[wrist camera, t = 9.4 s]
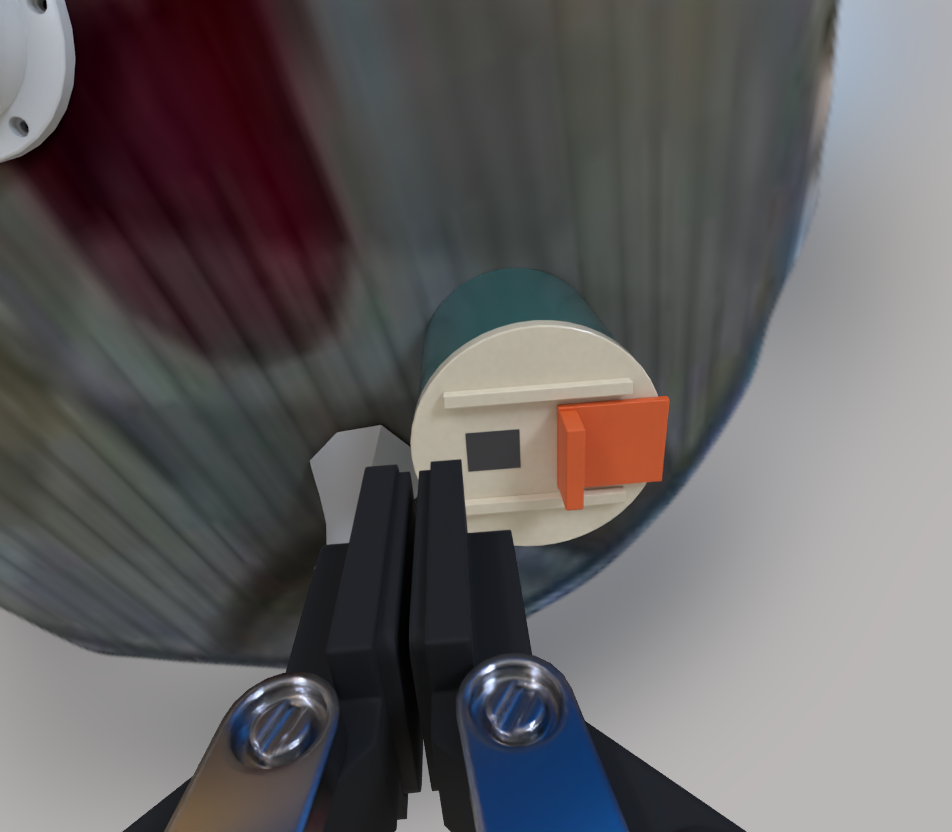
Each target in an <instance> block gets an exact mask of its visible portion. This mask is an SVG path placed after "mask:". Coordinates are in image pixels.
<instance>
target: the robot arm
mask: <svg viewBox="0 0 952 832" xmlns="http://www.w3.org/2000/svg"><path fill="white" fill-rule="evenodd" d="M46 1H47V9H46V10H45V8H44V6H43V2H44V0H0V163H1V162H5V161H8V160H11V159H14V158H18V157H21V156H23V155H24V154H26V153H28V152H29V151H31V150H33V149H34V148H36V147H38V146H39V145H41V144H42V142H43V141H44V140H45V139H46V138H47V137H48V136H49V135H50V134H51V133H52V132H53V131H54V130H55V129H56V127H57V125H58V124H59V122H60V120H61V118H62V116H63V115H64V113H65V111H66V109H67V106H68V103H69V99H70V96H71V92H72V89H73V85H74V72H75V49H74V40H73V31H72V25H71V22H70V18H69V15H68V11H67V7H66V4H65V0H46ZM26 124H27V125H28V129H29V130H28V129H27V128H26ZM423 740H424V746H425V751H426V758H427V764H428V770H429V776H430V782H431V788H432V791H437V790H438V791H439V794H440V801H441V807H442V814H443V820H444V825H445V826H446V827H447V828H448V829H449V830H450V831H451V832H746V831H745V830H743V829H742V828H740V827H739V826H737V825H736V824H735V823H733V822H732V821H730V820H729V819H727V818H726V817H724V816H723V815H721V814H720V813H718V812H717V811H715V810H714V809H712V808H711V807H710V806H708V805H707V804H705V803H704V802H702V801H701V800H700V799H698V798H696V797H695V796H693V795H692V794H691V793H689V792H688V791H686V790H685V789H684V788H682V787H681V786H679V785H678V784H676V783H675V782H673V781H672V780H670V779H669V778H667V777H666V776H665V775H663V774H662V773H660V772H659V771H657V770H656V769H654V768H653V767H651V766H650V765H648V764H647V763H646V762H644V761H643V760H641V759H640V758H638V757H637V756H635V755H634V754H632V753H631V752H629V751H628V750H626V749H625V748H623V747H622V746H621V745H619V744H618V743H616V742H615V741H614V740H612V739H611V738H609V737H608V736H606V735H605V734H603V733H602V732H600V731H599V730H597V729H596V728H595V727H593V726H591V725H590V724H589V723H587V722H586V721H585V720H584V718H583V715H582V713H581V710H580V708H579V705H578V703H577V700H576V698H575V695H574V693H573V690H572V688H571V686H570V685H569V683H568V682H567V680H566V678H565V676H564V675H563V674H562V673H561V672H560V671H559V670H558V669H557V668H555V667H554V666H553V665H552V664H551V663H549V662H547V661H545V660H543V659H541V658H538V657H536V656H533V655H532V652H531V646H530V640H529V634H528V627H527V622H526V615H525V609H524V603H523V597H522V591H521V585H520V579H519V573H518V567H517V561H516V555H515V549H514V543H513V537H512V532H511V529H510V530H498V531H486V532H474V533H468V530H467V518H466V507H465V495H464V484H463V472H462V461H461V459H457V460H444V461H432V462H431V464H430V470H422V471H419V478H418V494H417V510H416V508H415V501H414V494H413V486H412V479H411V474H410V471H409V472H399V468H398V465H397V464H395V465H382V466H370V467H366V468H365V470H364V475H363V480H362V484H361V489H360V494H359V498H358V503H357V508H356V512H355V517H354V521H353V526H352V531H351V535H350V540H349V543H341V544H329V545H323V546H322V547H321V549H320V552H319V555H318V558H317V562H316V566H315V569H314V573H313V576H312V580H311V583H310V587H309V591H308V594H307V598H306V601H305V605H304V609H303V612H302V616H301V619H300V623H299V627H298V630H297V634H296V637H295V641H294V645H293V648H292V652H291V655H290V659H289V663H288V666H287V670H286V673H282V674H279V675H276V676H273V677H270V678H267V679H265V680H264V681H262V682H260V683H258V684H256V685H255V686H253V687H252V688H250V689H248V690H247V691H246V692H245V693H244V694H243V695H242V696H241V697H240V698H239V699H238V700H236V701H235V702H234V703H233V705H232V706H231V708H230V709H229V711H228V712H227V713H226V715H225V716H224V718H223V719H222V721H221V723H220V725H219V727H218V729H217V731H216V733H215V735H214V737H213V738H212V740H211V742H210V744H209V746H208V748H207V750H206V752H205V754H204V756H203V758H202V760H201V762H200V764H199V765H198V768H197V769H196V771H195V773H194V775H193V776H192V777H191V778H190V779H189V780H187V781H186V782H185V783H184V784H182V785H181V786H180V787H178V788H177V789H176V790H175V791H173V792H172V793H171V794H170V795H168V796H167V797H166V798H165V799H163V800H162V801H161V802H160V803H158V804H157V805H156V806H154V807H153V808H152V809H151V810H149V811H148V812H147V813H146V814H144V815H143V816H142V817H140V818H139V819H138V820H137V821H135V822H134V823H133V824H132V825H130V826H129V827H128V828H127V829H126V830H124V831H123V832H395V831H396V828H397V820H399V819H407V805H408V793H416V792H421V786H422V758H423Z"/></svg>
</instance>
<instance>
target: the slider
mask: <svg viewBox="0 0 952 832" xmlns="http://www.w3.org/2000/svg"><path fill="white" fill-rule="evenodd" d="M669 401H670V400H669V398H668V397H667V396H660V397H648V398H635V399H623V400H610V401H597V402H585V403H572V404H560V405H557V486H558V489H559V490H560V493H561V496H562V500H563V503H564V506H565V509H566V510H567V511H570V510H582V509H583V508H584V487H595V486H607V485H619V484H632V483H644V482H656V481H662V473H663V463H664V452H665V442H666V432H667V422H668V412H669Z"/></svg>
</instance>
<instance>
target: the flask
mask: <svg viewBox="0 0 952 832" xmlns="http://www.w3.org/2000/svg"><path fill="white" fill-rule="evenodd" d="M310 464H311V468H312V472H313V475H314V478H315V482H316V485H317V488H318V492H319V495H320V499H321V503H322V508H323V512H324V516H325V520H326V534H327V545H329V544H341V543H349V540H350V535H351V531H352V526H353V521H354V517H355V512H356V508H357V503H358V498H359V494H360V489H361V484H362V480H363V475H364V470H365V468H366V467H370V466H382V465H395V464H397V465H398V468H399V472H409V471H410V474H411V479H412V486H413V494H414V499H415V498H416V497H417V494H418V479H417V476H416V474H415V471H414V467H413V462H412V457H411V447H409V446H408V445H407V444H406V443H404V442H403V441H402V440H400V439H399V438H398V437H396V436H395V435H394V434H392V433H391V432H390V431H388V430H387V429H386V428H385V427H383V426H382V425H378V426H372V427H366V428H360V429H354V430H348V431H342V432H337V433H336V434H335V435H334V436H333V437H332V438H331V439H330V440H329V441H328V442H327V443H326V444H325V446H324V447H323V448H322V449H321V450H320V451H319V452H318V453H317V454H316V455H315V456H314V457H313V458H312V459H311V460H310ZM314 569H315V568H314Z"/></svg>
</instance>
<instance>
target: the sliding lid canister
mask: <svg viewBox="0 0 952 832" xmlns="http://www.w3.org/2000/svg"><path fill="white" fill-rule="evenodd" d="M648 397H658V394H657V392H656V389H655V387H654V385H653V383H652V381H651V379H650V378H649V376H648V375H647V373H646V372H645V370H644V369H643V367H642V366H641V365H640V364H639V362H638V361H637V360H636V359H635V358H634V357H633V356H632V355H631V354H630V353H629V352H628V350H626V349H625V348H624V347H622V346H621V345H620V344H619V343H618V342H617V341H616V340H615V339H614V337H613V336H612V335H611V333H610V332H609V331H608V329H607V328H606V327H605V325H604V324H603V323H602V321H601V320H600V319H599V317H598V316H597V315H596V313H595V312H594V311H593V309H592V308H591V307H590V305H589V304H588V303H587V302H586V300H585V299H584V298H583V297H582V296H581V295H580V294H579V293H578V291H576V290H575V289H574V288H573V287H571V286H570V285H569V284H568V283H566V282H564V281H563V280H561V279H559V278H558V277H555V276H553V275H550V274H548V273H545V272H541V271H538V270H533V269H525V268H507V269H500V270H495V271H491V272H488V273H484V274H482V275H479V276H477V277H475V278H472V279H471V280H469V281H467V282H466V283H464V284H462V285H461V286H460V287H458V288H457V289H456V290H454V291H453V292H452V293H451V294H450V295H449V296H448V297H447V298H446V299H445V300H444V301H443V302H442V304H441V305H440V306H439V308H438V309H437V310H436V312H435V314H434V315H433V317H432V319H431V321H430V323H429V326H428V328H427V331H426V334H425V338H424V342H423V351H422V363H421V375H420V387H419V399H418V403H417V405H416V408H415V412H414V416H413V420H412V431H411V441H410V443H411V457H412V462H413V467H414V471H415V474H416V476H417V479H418V478H419V471H422V470H430V464H431V462H432V461H444V460H457V459H461V461H462V472H463V484H464V495H465V507H466V518H467V530H468V533H474V532H486V531H498V530H510V529H511V532H512V537H513V543H514V545H515V546H541V545H548V544H555V543H559V542H564V541H568V540H571V539H574V538H577V537H580V536H582V535H585V534H587V533H589V532H591V531H593V530H595V529H597V528H599V527H601V526H602V525H604V524H606V523H607V522H609V521H610V520H612V519H613V518H614V517H616V516H617V515H618V514H620V513H621V512H622V511H623V510H624V509H625V508H626V507H627V506H628V505H629V504H630V503H632V502H633V500H634V499H635V498H636V497H637V496H638V494H639V493H640V492H641V491H642V489H643V488H644V486H645V485H646V483H647V482H644V483H632V484H619V485H607V486H595V487H584V508H583V509H582V510H570V511H567V510H566V509H565V506H564V503H563V500H562V496H561V493H560V490H559V489H558V486H557V405H560V404H572V403H585V402H597V401H610V400H623V399H635V398H648Z"/></svg>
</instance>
